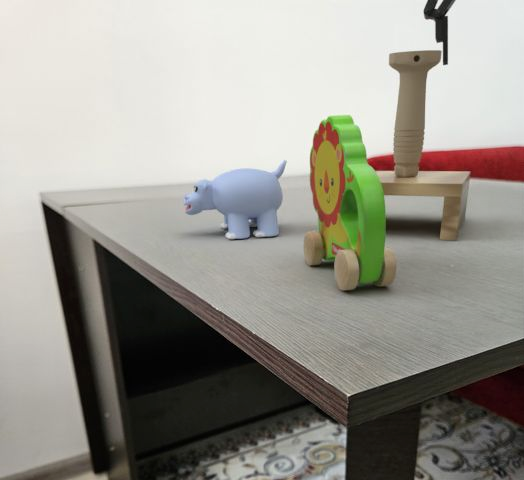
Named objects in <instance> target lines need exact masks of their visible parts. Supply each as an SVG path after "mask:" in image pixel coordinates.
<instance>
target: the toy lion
mask: <svg viewBox="0 0 524 480" xmlns="http://www.w3.org/2000/svg"><path fill="white" fill-rule="evenodd" d="M367 156H368V155H367V148H366V145H365V143H364V141H363V136H362V132H361V129H360V127H359V125H357V124H355V122H354V119H353V117H352V115H350V114H341V115H337V114H336V115H329V116H327V118H326V119H322V120H321V121H320V123H319V125H318V129H316V130H315V132H314V133H313V137H312V146H311V148H310V152H309V170H310V171H309V187H310V191H311V194H312V204H313V208H314V211H315V212H316V213H317V221H318V231H316V230H312V231H311V230H310V231H307V232H306V233H305V235H304V238H303V256H304V260H305V263H306V264H307V265H308V266H320V265H321V264H322V262H323V260H324V261H326V262H327V261H334V264H333V271H334V272H333V273H334V279H335V283H336V286H337V288H338V289H339V290H340V291H353V290H355V289H356V288H357V287H358V284H367V283H371V282H372V283H373V285H374V286H376V287H388V286H391V285H392V283H394V281H395V278H396V275H397V260H396V256H395V253H394V251H393V250H392V249H391V248H389V247H386V232H387V231H386V230H387V229H386V227H387V223H386V222H387V217H386V216H387V215H386V201H385V195H384V194H383V189H382V185H381V182H380V179H379V177H378V175H377V173H376V172H375V171H376V170H375V169H374V168H373V166H371V165H370V164H369V162H368V157H367Z"/></svg>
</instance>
